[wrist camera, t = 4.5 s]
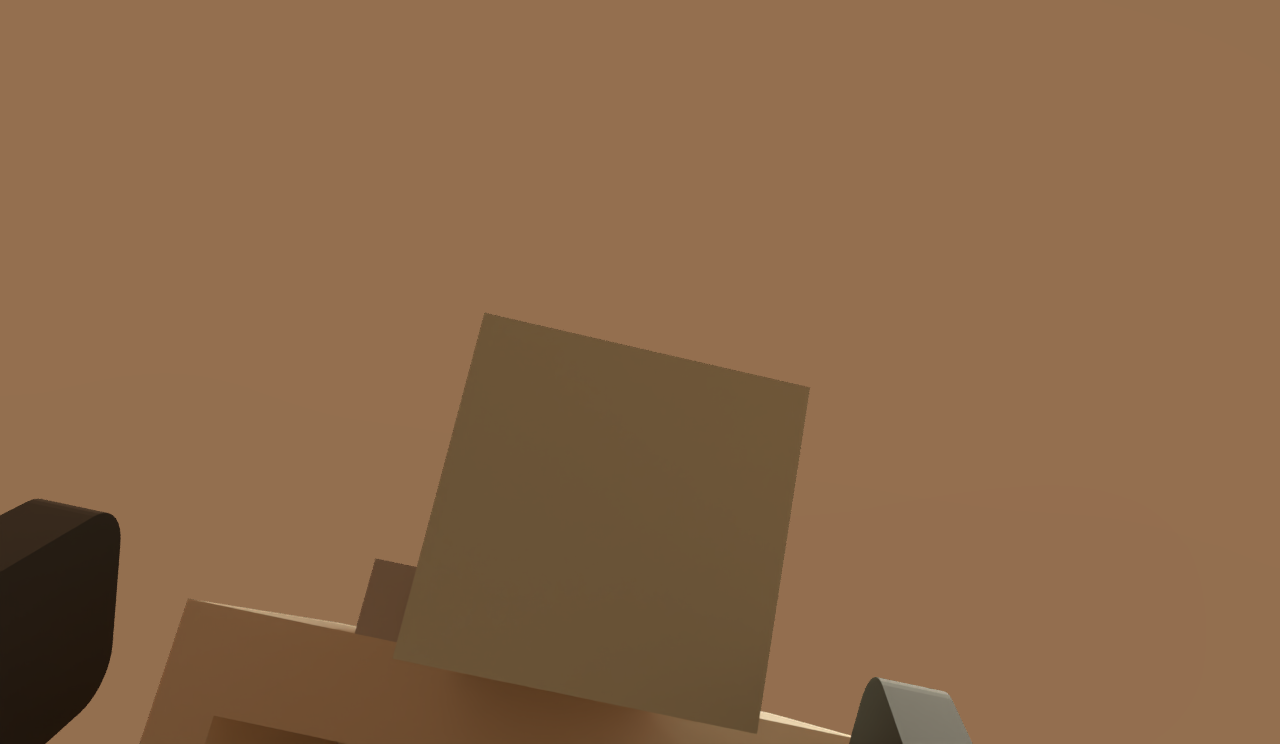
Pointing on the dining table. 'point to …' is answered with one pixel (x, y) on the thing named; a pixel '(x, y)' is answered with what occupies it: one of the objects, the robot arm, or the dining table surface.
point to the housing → (383, 689)
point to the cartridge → (609, 526)
